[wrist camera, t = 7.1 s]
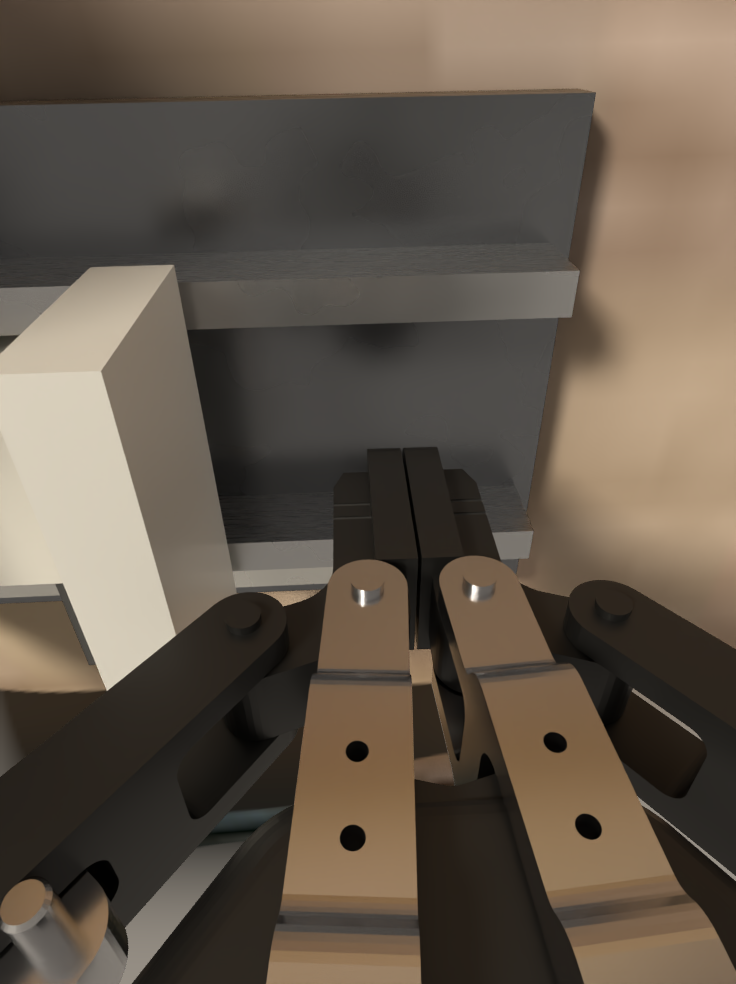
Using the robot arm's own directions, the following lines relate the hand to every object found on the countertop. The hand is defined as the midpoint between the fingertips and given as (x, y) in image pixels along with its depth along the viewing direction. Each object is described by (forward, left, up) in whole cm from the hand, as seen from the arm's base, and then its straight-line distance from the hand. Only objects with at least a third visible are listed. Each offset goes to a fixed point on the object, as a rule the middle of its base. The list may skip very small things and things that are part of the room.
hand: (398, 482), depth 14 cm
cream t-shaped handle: (+8, +1, -4) cm, 9 cm away
